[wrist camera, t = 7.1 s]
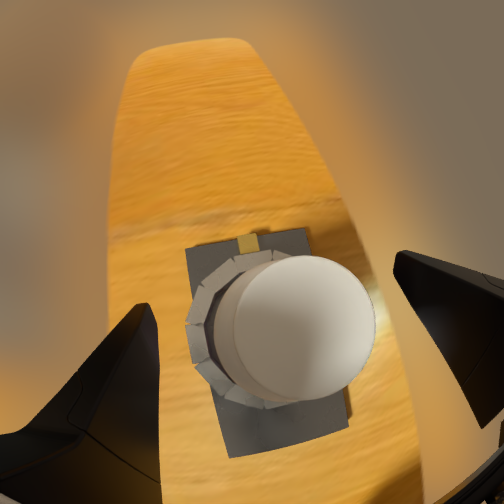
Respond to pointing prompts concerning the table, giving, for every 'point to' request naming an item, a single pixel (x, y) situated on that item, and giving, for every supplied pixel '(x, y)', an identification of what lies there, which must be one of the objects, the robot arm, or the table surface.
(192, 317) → the collar
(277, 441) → the plate
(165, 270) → the table surface
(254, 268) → the pill bottle
